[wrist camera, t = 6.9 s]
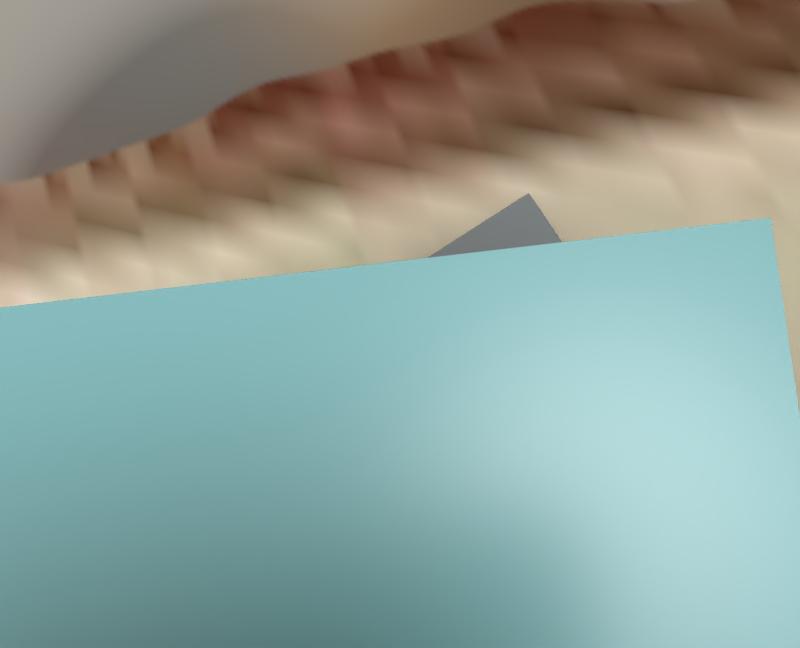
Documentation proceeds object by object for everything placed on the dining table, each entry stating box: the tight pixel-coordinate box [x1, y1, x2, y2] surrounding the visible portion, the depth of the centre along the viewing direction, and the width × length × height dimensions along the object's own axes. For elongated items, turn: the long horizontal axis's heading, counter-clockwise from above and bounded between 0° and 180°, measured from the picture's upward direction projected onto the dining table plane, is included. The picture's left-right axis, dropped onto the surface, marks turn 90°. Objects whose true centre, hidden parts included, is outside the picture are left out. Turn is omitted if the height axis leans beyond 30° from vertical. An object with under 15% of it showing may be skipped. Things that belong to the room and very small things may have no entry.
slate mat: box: [428, 194, 561, 258], centre depth 22 cm, size 14×13×1 cm
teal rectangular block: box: [0, 218, 800, 648], centre depth 11 cm, size 7×7×12 cm
